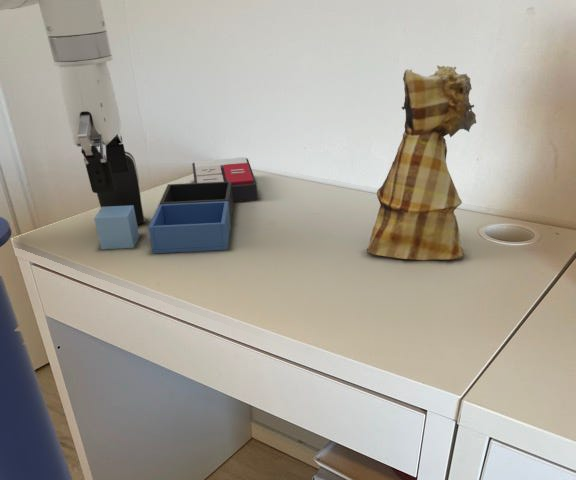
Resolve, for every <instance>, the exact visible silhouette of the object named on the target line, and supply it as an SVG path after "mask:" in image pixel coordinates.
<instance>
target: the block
mask: <svg viewBox="0 0 576 480" xmlns="http://www.w3.org/2000/svg"><path fill="white" fill-rule="evenodd" d="M93 220H94V223H95V228H96V232H97V236H98V240H99V245H100V250H118V249H119V250H120V249H134V248H135V246H136V244H137V241H138V240H139V237H140V231H139V227H138V226H139V225H138V224H137V221H136V216H135V210H134V206H133V205H130V206H109V207H100V209H98V212H97V213H96V215H95V216H94V218H93Z"/></svg>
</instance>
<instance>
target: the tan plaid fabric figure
mask: <svg viewBox="0 0 576 480" xmlns="http://www.w3.org/2000/svg"><path fill="white" fill-rule="evenodd" d="M436 68H437V70H435V72H434V73H433V74H430V75H428V76H427V75H426V76H424V75H421V74H419V73H416V72H413V69H409V68H408V69H405V70H404V73H403V77H402V81H403V85H404V87H403V88H404V102H403V106H401V109H402V111H403V110H404V111H405V120H404V132H403V133H402V139H401V141H400V143H399V145H398V148H397V151H396V154H395V157H394V160H393V161H392V163H391V166H390V168H389V170H388V173H387V175H386V178H385V180H384V181H383V183H382V185H381V186H380V187H379V188H378V189H377V191H376V197H377V200H378V202H379V204H380V206H379V208H378V213H377V216H376V220H375V223H374V225H373V228H372V233H371V236H370V239H369V245H368V248H366V253H367V254H372V255H375V256H383V257H389V258H396V259H404V260H417V261H428V260H454V259H455V260H456V259H459V258H462V257H463V256H465V251H464V249H463V248H462V243H461V242H462V241H461V233H460V229H459V223H458V220H457V216H456V215H455V212H454V211H455V210H457V208H458V207H459V206H461V205H462V204H463V202H462V198H460V196H459V193H458V191H457V188H456V186H455V183H454V180H453V179H452V176H451V174H450V172H449V169H448V168H449V167H448V164H447V153H448V147H447V142H446V138H445V137H446V136H449V137H450V138H452V137H453V136H454V135H455V134H456V133H458V132H459V131H460V130H464V131H467V132H468V133H470V130H471V128H472V127H473V125H474V124H477V119H476V117H477V116H476V114H475V112H474V111H473V109H472V108H475V104H471V103H470V97H469V96H470V92H471V90H472V89H473V88H472V84H471V77H470V76H468V74H467V73H457V72H456V69H457V67H456V66H454V67H453V66H448V65H446V66H445V65H442V66H439V65H438V64H437V65H436Z"/></svg>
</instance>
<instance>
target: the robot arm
mask: <svg viewBox="0 0 576 480" xmlns="http://www.w3.org/2000/svg"><path fill="white" fill-rule="evenodd" d="M37 4H38V6H39V9H40V14H41V17H42V21H43V25H44V28H45V32H46V36H47V42H48V45H49V49H50V52H51V57H52V60H53V63H54V66H55V67H58V70H59V71H58V72H59V80H60V86H61V92H62V97H63V102H64V107H65V112H66V116H67V120H68V126H69V130H70V135H71V139H72V143H73V145H75V146H76V147H78V148H79V147H81V151H80V152H81V154H82V155H83V162H84V165H85V168H86V173H87V177H88V181H89V184H90V188H91V191H92V193H93V194H97V193H102V192H113V191H114V190H115V184H114V180H113V175H112V173H118V172H127V171H128V169H129V168H128V163H127V159H126V154H125V152H126V150H125V146H124V143H123V136H122V134H121V132H120V131H121V128H122V125H121V124H122V123H121V117H120V111H119V108H118V107H119V106H118V101H117V98H116V94H115V90H114V86H113V82H112V78H111V73H110V70H109V66H108V62H110V61H112V60H113V55H112V50H111V46H110V40H109V35H108V31H107V26H106V21H105V17H104V11H103V7H102V1H101V0H0V11H3V10H5V11H6V10H15V9H22V8H27V7H30V6H34V5H37ZM98 148H99V149H98Z"/></svg>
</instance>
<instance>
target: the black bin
mask: <svg viewBox="0 0 576 480" xmlns="http://www.w3.org/2000/svg"><path fill="white" fill-rule="evenodd" d="M219 201H228V202H229V213H230V223H231V224H232V220H233V219H232V218H233V212H234V204H235V202H233V191H232V181H227V182H207V183H194V182H188V183H170V184H169V183H168V184H167V186H166V188H165V190H164V192H163V194H162V196H161V199H160V201H159V203H158V205H159V204H162V205H163V204H178V203H199V202H219Z"/></svg>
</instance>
